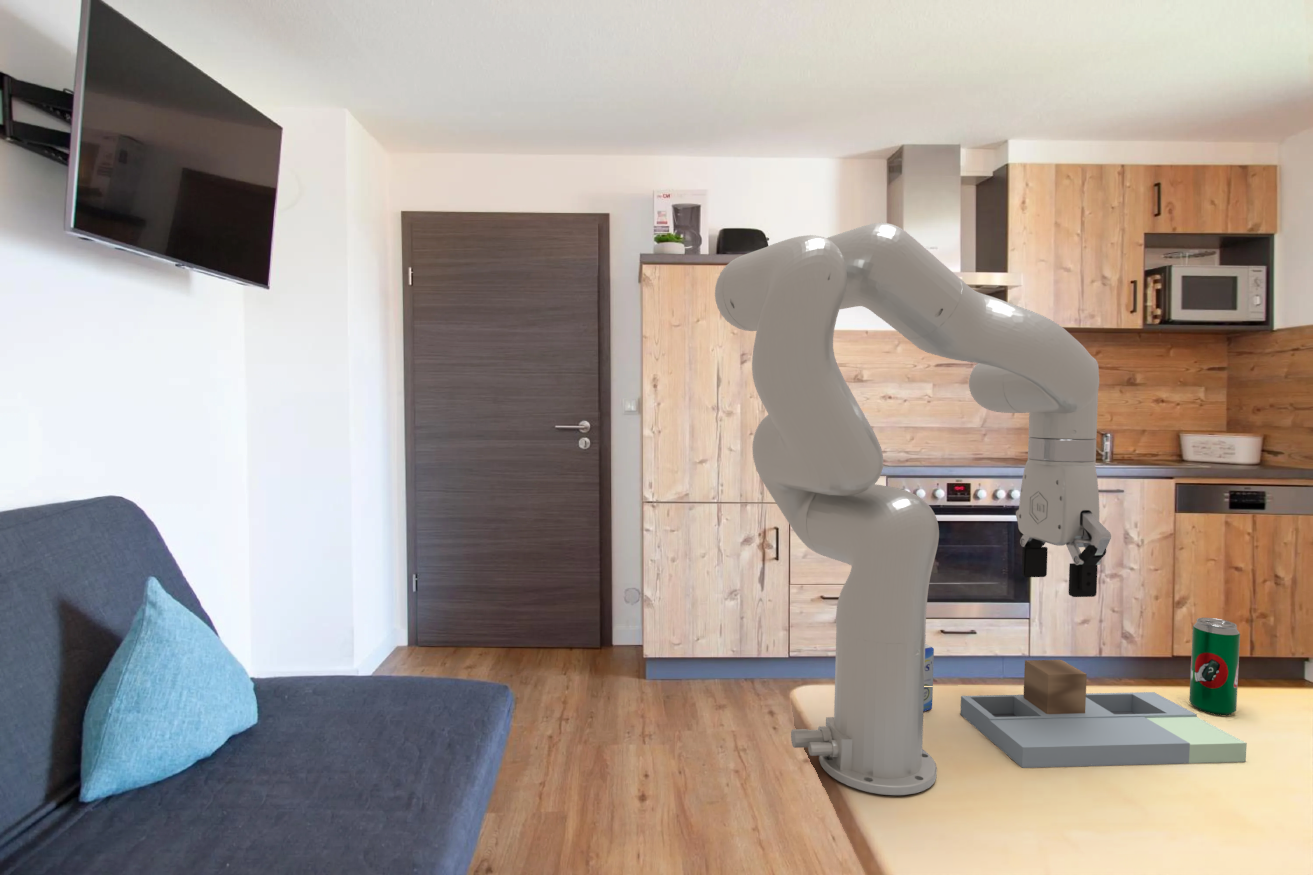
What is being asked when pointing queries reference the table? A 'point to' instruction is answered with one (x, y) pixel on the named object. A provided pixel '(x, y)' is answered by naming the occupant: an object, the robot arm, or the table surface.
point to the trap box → (1101, 732)
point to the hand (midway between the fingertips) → (1057, 585)
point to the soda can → (1214, 666)
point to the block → (1055, 686)
